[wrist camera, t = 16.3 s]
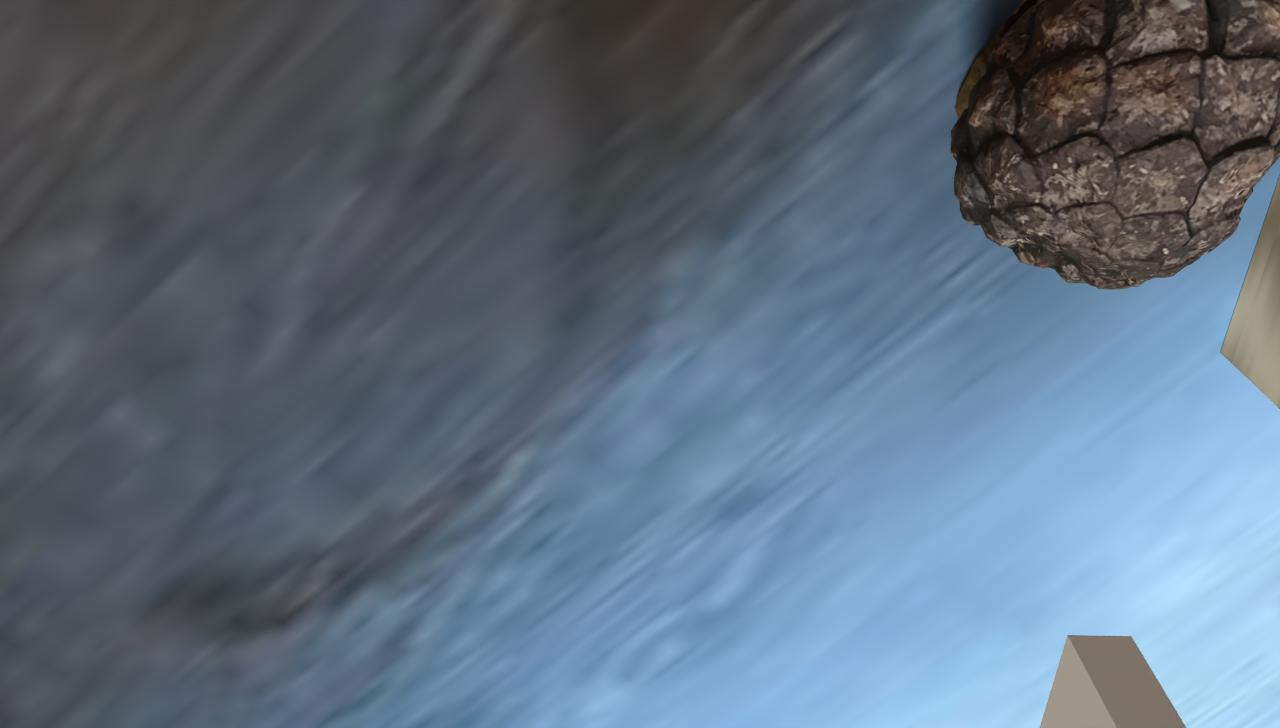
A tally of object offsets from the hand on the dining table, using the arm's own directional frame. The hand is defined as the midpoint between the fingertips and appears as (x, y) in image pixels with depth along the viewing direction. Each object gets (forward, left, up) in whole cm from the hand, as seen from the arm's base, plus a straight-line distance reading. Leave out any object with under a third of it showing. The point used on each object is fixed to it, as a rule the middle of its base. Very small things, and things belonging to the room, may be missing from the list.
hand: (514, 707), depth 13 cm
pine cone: (-3, +20, -32) cm, 38 cm away
